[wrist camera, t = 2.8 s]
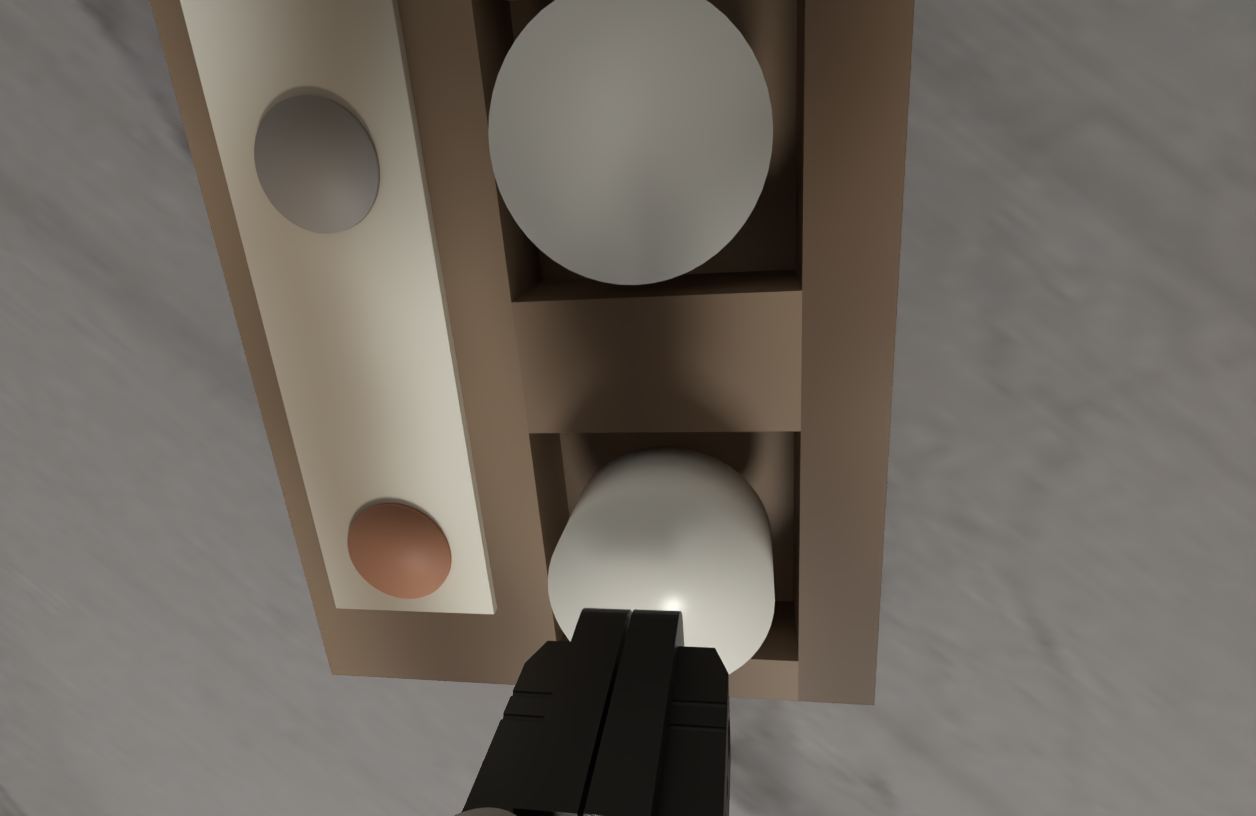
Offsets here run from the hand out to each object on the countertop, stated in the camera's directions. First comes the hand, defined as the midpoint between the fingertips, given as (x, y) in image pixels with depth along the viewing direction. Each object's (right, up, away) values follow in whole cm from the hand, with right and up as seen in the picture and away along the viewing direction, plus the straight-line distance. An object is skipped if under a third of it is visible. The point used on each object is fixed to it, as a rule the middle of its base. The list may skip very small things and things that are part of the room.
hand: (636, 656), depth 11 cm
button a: (+1, +1, +3) cm, 4 cm away
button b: (0, +8, +1) cm, 8 cm away
